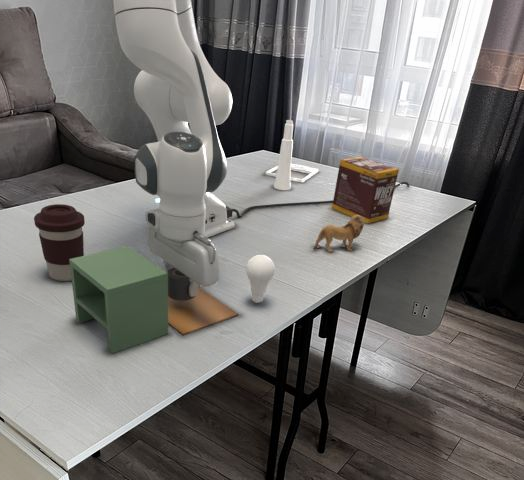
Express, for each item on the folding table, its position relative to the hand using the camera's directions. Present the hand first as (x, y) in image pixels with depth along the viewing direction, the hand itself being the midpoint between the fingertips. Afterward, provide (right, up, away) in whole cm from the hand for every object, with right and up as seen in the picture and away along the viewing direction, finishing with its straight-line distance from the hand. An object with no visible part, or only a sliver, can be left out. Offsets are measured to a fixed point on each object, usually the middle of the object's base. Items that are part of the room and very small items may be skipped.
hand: (181, 287), depth 112 cm
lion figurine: (+37, +15, +36) cm, 54 cm away
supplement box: (+48, +31, +61) cm, 83 cm away
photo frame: (+28, +54, +92) cm, 110 cm away
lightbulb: (+16, -3, +6) cm, 17 cm away
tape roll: (0, -1, +1) cm, 1 cm away
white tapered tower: (+24, +43, +76) cm, 91 cm away
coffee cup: (-27, +4, +9) cm, 29 cm away
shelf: (-11, -9, -7) cm, 15 cm away
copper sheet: (0, -3, +2) cm, 4 cm away
